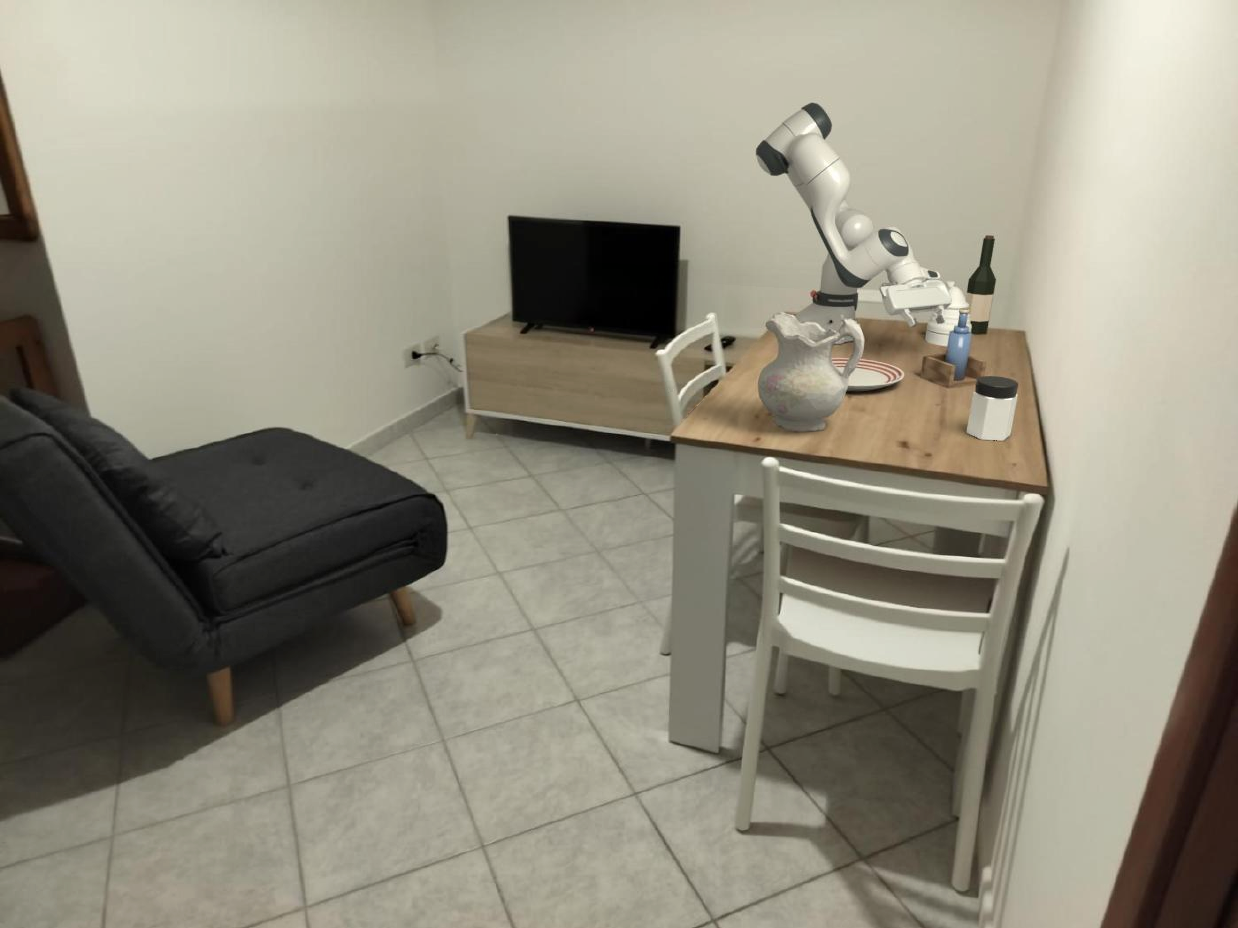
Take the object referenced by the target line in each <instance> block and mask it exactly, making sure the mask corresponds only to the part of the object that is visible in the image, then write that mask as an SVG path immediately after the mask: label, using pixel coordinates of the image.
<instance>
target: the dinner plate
mask: <svg viewBox="0 0 1238 928" xmlns="http://www.w3.org/2000/svg"><path fill="white" fill-rule="evenodd" d="M849 358H850V357H849ZM849 358H846V357H831V360H832V363H833V364H834V365H835V366H836V367H837V368H839V369H840V371H841V372H842V373H843V370H844V368H845V366H846V363H847V361H848V360H849ZM904 377H905V372H904V371H903V370H902V369H900V368H899V367H897V366H895V365H892V364H889V363H885V362H881V361H876V360H871V359H870V360H869V359H863V358H861V359H860V361H859V363H858V364H857V366H856V368H855V370H854V371H853V372H852V373H851V374H850V376H849V381H848V388H847V391H846V392H867V391H874V390H877V389H881V388H884V387H888V386H892V385H894V384H896V383H899V382H900V381H902V380H903V379H904Z"/></svg>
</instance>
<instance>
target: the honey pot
mask: <svg viewBox="0 0 1238 928" xmlns="http://www.w3.org/2000/svg"><path fill="white" fill-rule="evenodd" d="M955 283H956V281H953V280H946V281H945V286H946V287H947V289H948V291H949V293H950V295H951V298H952V303H951V304H950V305H949V306H948V307H947V308H946V309H945V310H944V317H945V322H944V323H942V324H937V321H936V320H935V319H936V318H937V314H936V313H935V311H932V314H931V316H930V319H929V320H928V322H927V323H926V325H927V326H926V332H925V337H924V338H925V339H924V341H925V342H926V343H929V344H932V345H935V346H942V347H947V345H948V338H949V332H950V331H953V330H954V326H956V325H958V320H959V309H961V308H965V309H968V307H969V304H968V303H967V302H966V296H965V295H964V293H963V291H962V290H961V289H960V288H959V287H958V286H955ZM969 317H970V314H969V313H968V317H967V323H966V326H968V327H969V332H971V329H972V325H971V323H970V318H969Z"/></svg>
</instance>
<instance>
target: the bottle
mask: <svg viewBox="0 0 1238 928" xmlns="http://www.w3.org/2000/svg"><path fill="white" fill-rule="evenodd" d="M968 313H969V309H965V308H961V309H959V320H958V325H956V326H954V330H953V331H950V332H949V338H948V345H947V346H946V351H945V352H946V358H945V362H946V363H949V364H952V365H955V366H956V367H955V373H954V379H953V381H963V380H965V374H966V368H967V362H968V356H970V355H969V354H970V348H971V343H972V336H973V334H972V333H971V332H969V327H968V326H966V323H967V317H968Z"/></svg>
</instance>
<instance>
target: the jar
mask: <svg viewBox="0 0 1238 928" xmlns="http://www.w3.org/2000/svg"><path fill="white" fill-rule="evenodd" d="M1018 389H1019V383H1018V382H1017V380H1015V379H1011V378H1009V377H1004V376H1003V377H1002V376H997V375H996V376H993V375H984V377H980V378H978V379H977V383H976V384H975V390H974V391H973V392H972V396H971V397H972V398H971V403H970V409H969V416H968V421H967V426H966V433H967V435H970V436H972V437H974V436H975V438H976V437H977V439H979V440H981V441H993V440H995V441H996V440H997V441H996V442H1004V441H1005V440H1006V439H1008V438H1009V437H1010V436H1011V432H1012V428H1013V423H1014V422H1013V421H1014V417H1015V412H1016V407H1017V401H1018V396H1019V395H1018ZM995 441H994V442H995Z"/></svg>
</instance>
